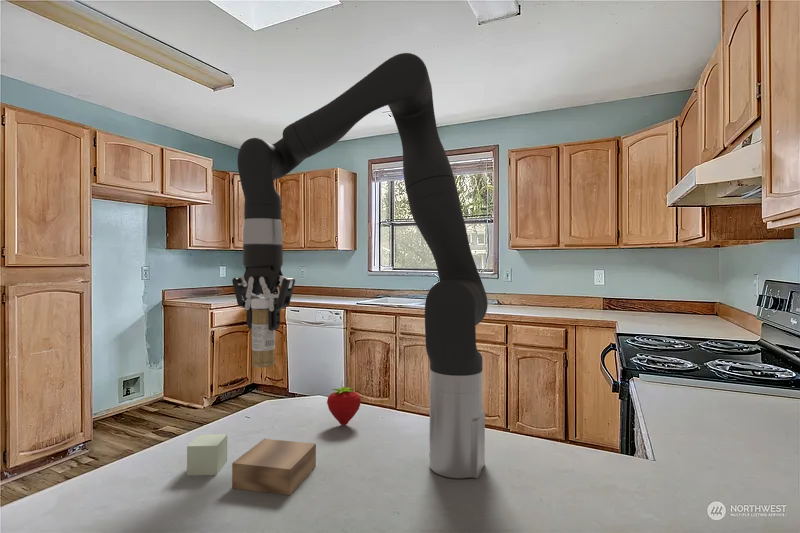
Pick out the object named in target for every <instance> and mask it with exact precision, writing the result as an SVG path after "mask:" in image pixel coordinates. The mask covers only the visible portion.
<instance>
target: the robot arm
mask: <svg viewBox="0 0 800 533" xmlns="http://www.w3.org/2000/svg"><path fill="white" fill-rule="evenodd" d="M387 106H388V108H389V110H390V112H391V114H392V116H393V119H394V120H393V121H394V122H395V126H396V128H397V131H398V135H399V138H400V141H401V147H402V168H403V169H402V171H403V172H402V173H403V181H404V187H405V193H406V196H407V201H408V205H409V209H410V212H411V216H412V218H413V221H414V222H415V224H416V227H417V229H418V231H419V232H420V234H421V236H422V237H423V239H424V241H425V242H426V245H427V246H428V248H429V249H430V251H431V255H432V257H433V259H434V263H435V267H436V270H437V274H438V280H439V281H438V282H436V283H434V284H433V285H432V286H431V288H430V289H429V290H428V292H427V295H426V297H425V302H424V303H425V304H424V332H425V333H424V335H425V336H424V337H425V339H424V340H425V350H426V353H427V357H428V359H429V451H428V453H429V455H428V456H429V468H430V469H431V470H432V471H433V472H434V473H435V474H437V475H439V476H442V477H446V478H450V479H466V478H475V479H479V477H480V475H481V472H482V471H483V468H484V466H485V463H486V460H485V457H486V456H485V452H486V450H485V449H486V447H485V444H486V436H485V435H486V434H485V433H486V412H485V410H483V355H482V353H480V352H479V351H478V347H477V334H476V333H477V332H476V329H477V328H476V326H477V325H480V323H481V322H482V321H483V320H484V318H485V317H486V314H487V312H488V307H489V306H488V297H487V296H488V295H487V292H486V289H485V287H484V284H483V282H482V281H483V280H482V279H481V276H480V273H479V270H478V268H477V264H476V262H475V259H474V257H473V254H472V250H471V246H470V242H469V236H468V232H467V228H466V223H465V220H464V214H463V211H462V206H461V200H460V197H459V192H458V188H457V183H456V179H455V176H454V175H455V174H454V173H453V169H452V167H451V164H450V160H449V158H448V154H447V153H446V150H445V147H444V146H443V144H442V142H441V138H440V135H439V132H438V127H437V122H436V115H435V107H434V106H435V105H434V99H433V88H432V82H431V80H430V75H429V71H428V68H427V66H426V63H425V61H424V60H423V59H422V58H421V57H420V56H418V55H416V54H415V53H412V52H402V53H398V54H397V53H396V54H395V55H393V56H391V57H389V58H388V59H387V60H385V61H383V62H382V63H380V64H379V65H378V66H377V67H376V68H374V69H373V70H372V71H371V72H369V73H368V74H366V75H365V76H364V77H363V78H361V79H360V80H358V82H356V83H354V85H352V86H350V87H349V88H348V89H347V90H345V91H344V92H343V93H342V94H340V95H339V96H337V97H336V98H334V99H333V100H331V101H330V102H328V103H327V104H325V105H324V106H322V107H320V108H318V109H317V110H314V111H313V112H310V113H308V114H307V115H305V116H303V117H301V118H300V119H297V120H295V121H294V122H292V123H290V124H288V125H287V126H286V127H285V128H283V130H282V137H281V139H279V140H278V141H276V142H275V143H272V144H271V143H269V142H268V141H266V140H265V139H262V138H260V137H251V138H249V139H247V140H245V141H244V142H243V143H242V144H241V146H239V149H238V154H237V170H238V175H239V181H240V186H241V189H242V192H243V197H244V204H243V205H244V206H243V208H244V213H243V215H244V216H243V218H244V222H243V229H242V265H243V266H244V268H245V271H244V273H243V276H239V277H233V278H232V281H231V282H232V285H233V289H234V291H233V292H234V295H235V299H236V303H237V306H238V307H241V308H244V309H245V310H246V326H247V328H248V329H249V330H252V308H251V300H252V299H254V298H265V300H267V303H268V307H269V310H270V311H269V330H275V331H276V330H278V329H279V327H280V326H281V311H282V309H285V308H288V307H290V302H291V299H292V294H293V292H294V288H295V284H296V279H295V278H294V277H286V276H284V274H283V272H282V267H283V265H284V264H283V263H284V262H283V260H284V258H283V256H284V252H283V250H284V249H283V247H284V246H283V243H284V242H283V237H284V233H283V227H282V226H283V225H282V199H281V195H280V194H279V192H278V191H277V190H276V188H275V184H274V181H275V180H279V179H280V178H283V177H285V176H286V175H288V174H290V172H292V171H294V169H295V168H297V167H298V166H299V165H300V164H301V163H302V162H304V160H306V159H308V158H311V157H312V156H315V155H317V154H318V153H321V152H322V151H324V150H326V149H328V148H329V147H331V146H333V145H334V144H336V143H338V141H340V140H341V139H342V138H344V136H346V135H347V134H348V133H349V131H351V129H352V128H354V126H356V125H357V124H358V123H359V121H361V120H362V119H364V118H365V117H367V116H368V115H369V114H371V113H373V112H374V111H375V112H376V111H377V110H379V109H382V108H383V107H387ZM279 286H280V288H279ZM274 300H275V303H274Z"/></svg>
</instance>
